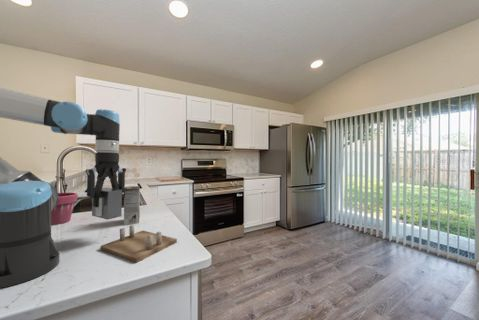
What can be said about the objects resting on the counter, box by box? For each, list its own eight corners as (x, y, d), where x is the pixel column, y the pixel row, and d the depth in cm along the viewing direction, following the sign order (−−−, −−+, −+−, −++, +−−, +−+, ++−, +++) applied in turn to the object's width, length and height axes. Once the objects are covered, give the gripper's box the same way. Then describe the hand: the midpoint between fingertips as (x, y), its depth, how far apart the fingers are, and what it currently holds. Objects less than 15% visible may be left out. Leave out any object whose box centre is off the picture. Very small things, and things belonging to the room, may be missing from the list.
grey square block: (107, 219, 72) (108, 191, 72) (91, 215, 76) (92, 189, 76) (121, 216, 76) (121, 189, 76) (105, 212, 81) (106, 187, 81)
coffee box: (125, 219, 99) (125, 186, 99) (139, 217, 102) (139, 185, 102) (123, 225, 91) (123, 189, 91) (139, 223, 93) (139, 188, 93)
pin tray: (136, 262, 59) (136, 244, 59) (100, 249, 67) (100, 233, 67) (176, 242, 73) (176, 227, 73) (142, 233, 81) (142, 220, 81)
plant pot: (73, 215, 104) (73, 191, 104) (80, 221, 95) (80, 194, 95) (33, 222, 93) (33, 194, 93) (38, 229, 84) (38, 199, 84)
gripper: (86, 151, 66) (85, 221, 66) (135, 152, 82) (135, 209, 83) (74, 151, 70) (73, 218, 70) (124, 152, 86) (123, 207, 86)
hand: (106, 213), depth 76 cm, fingers closed on grey square block, 5 cm apart
